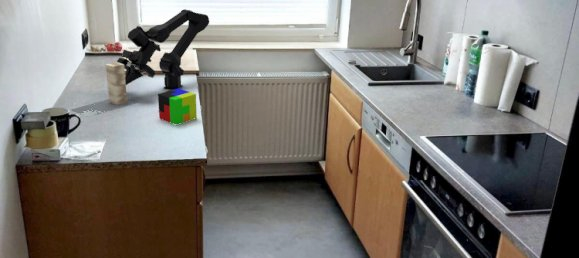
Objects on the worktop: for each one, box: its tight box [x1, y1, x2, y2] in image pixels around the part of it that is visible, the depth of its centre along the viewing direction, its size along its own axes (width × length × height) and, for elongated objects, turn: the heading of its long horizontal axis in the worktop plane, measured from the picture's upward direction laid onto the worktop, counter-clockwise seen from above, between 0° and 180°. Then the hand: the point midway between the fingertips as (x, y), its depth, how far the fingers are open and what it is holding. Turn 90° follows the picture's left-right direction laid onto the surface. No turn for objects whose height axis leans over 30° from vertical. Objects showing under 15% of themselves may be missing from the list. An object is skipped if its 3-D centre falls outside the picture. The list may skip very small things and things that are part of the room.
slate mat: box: [70, 97, 139, 114], centre depth 214 cm, size 24×12×1 cm, turn 143°
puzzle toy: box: [157, 88, 198, 125], centre depth 204 cm, size 10×10×10 cm
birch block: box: [105, 61, 128, 105], centre depth 216 cm, size 5×5×16 cm
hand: (125, 84), depth 219 cm, fingers closed
